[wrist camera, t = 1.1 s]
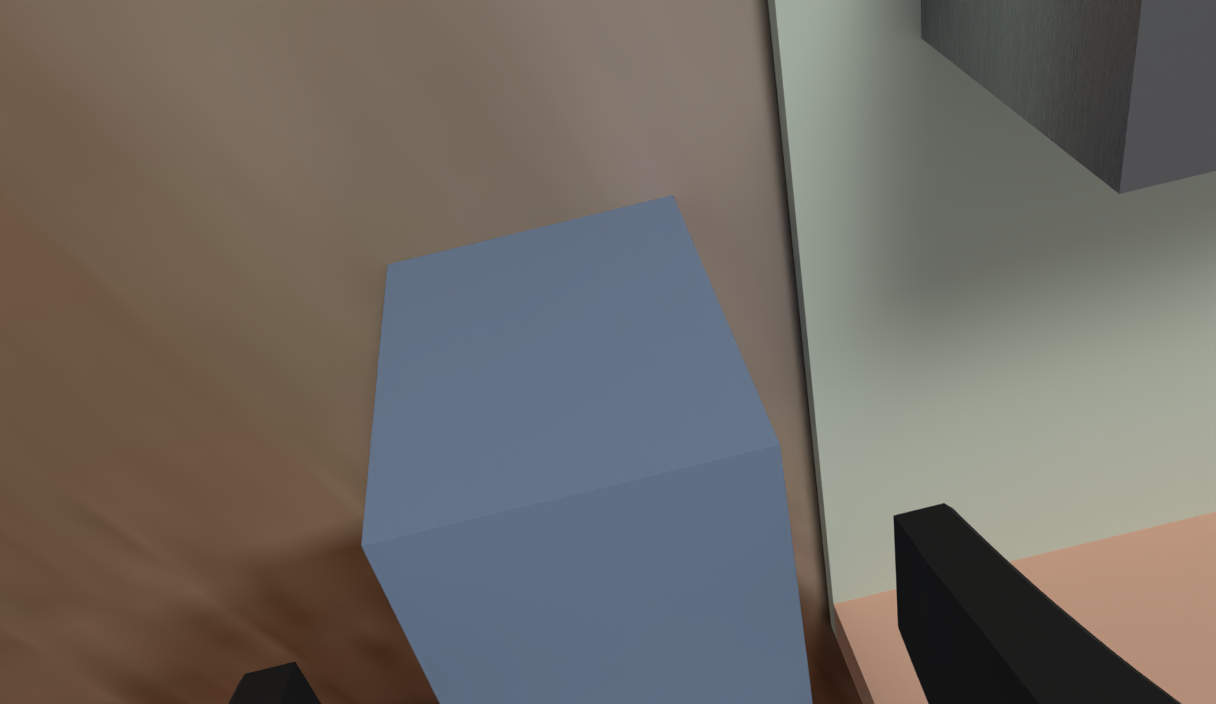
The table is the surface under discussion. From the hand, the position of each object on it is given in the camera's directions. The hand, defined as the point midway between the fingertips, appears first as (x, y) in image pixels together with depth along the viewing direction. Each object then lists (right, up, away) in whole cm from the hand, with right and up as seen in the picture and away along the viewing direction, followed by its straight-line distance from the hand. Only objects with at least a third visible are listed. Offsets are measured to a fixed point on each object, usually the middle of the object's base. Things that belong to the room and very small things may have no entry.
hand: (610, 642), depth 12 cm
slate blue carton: (-1, +3, +5) cm, 6 cm away
